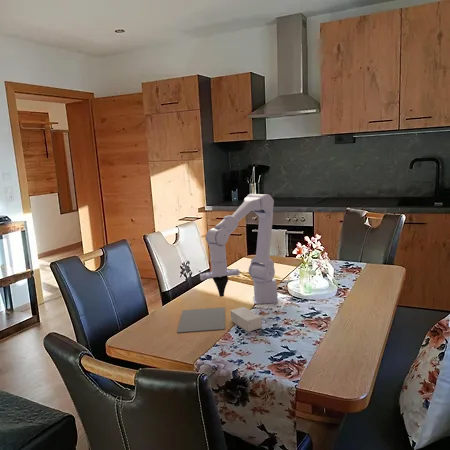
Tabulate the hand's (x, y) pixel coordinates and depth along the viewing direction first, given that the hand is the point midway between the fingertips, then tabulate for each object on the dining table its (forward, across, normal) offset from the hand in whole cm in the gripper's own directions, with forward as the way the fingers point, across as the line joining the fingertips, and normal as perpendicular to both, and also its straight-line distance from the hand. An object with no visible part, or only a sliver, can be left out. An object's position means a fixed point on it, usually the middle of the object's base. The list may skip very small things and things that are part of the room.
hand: (221, 295), depth 156 cm
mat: (+9, +8, -2) cm, 12 cm away
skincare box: (+7, -5, +3) cm, 9 cm away
